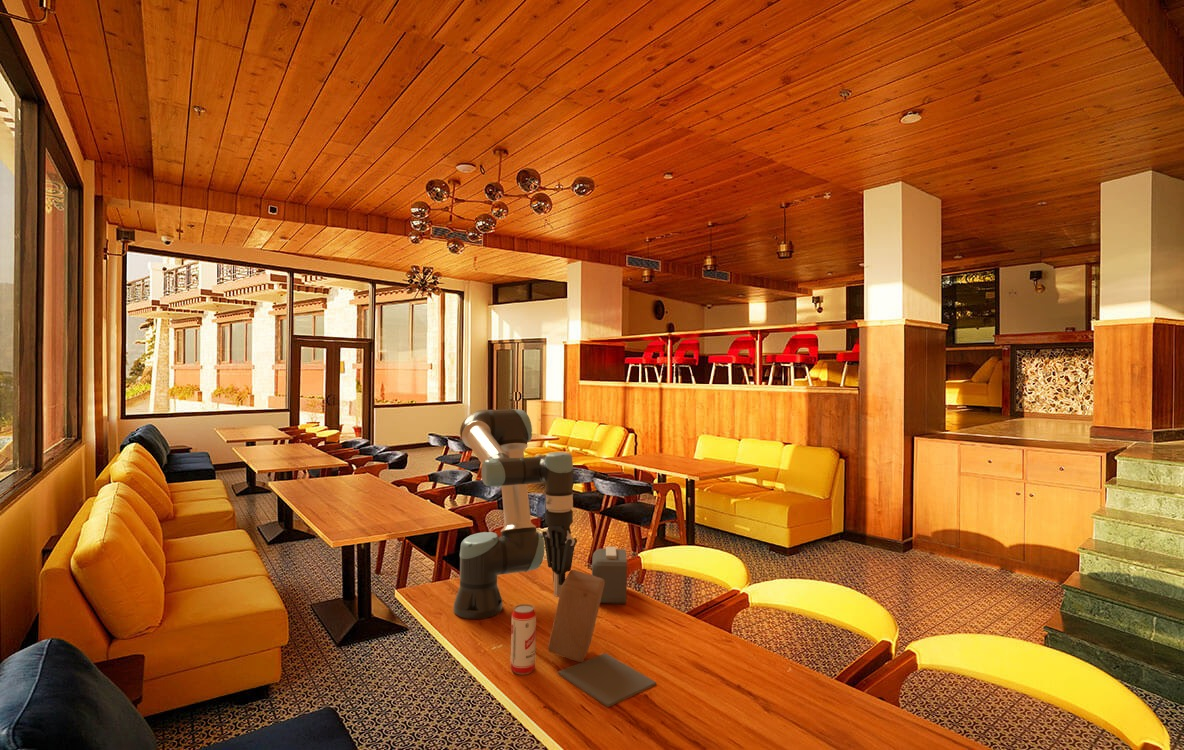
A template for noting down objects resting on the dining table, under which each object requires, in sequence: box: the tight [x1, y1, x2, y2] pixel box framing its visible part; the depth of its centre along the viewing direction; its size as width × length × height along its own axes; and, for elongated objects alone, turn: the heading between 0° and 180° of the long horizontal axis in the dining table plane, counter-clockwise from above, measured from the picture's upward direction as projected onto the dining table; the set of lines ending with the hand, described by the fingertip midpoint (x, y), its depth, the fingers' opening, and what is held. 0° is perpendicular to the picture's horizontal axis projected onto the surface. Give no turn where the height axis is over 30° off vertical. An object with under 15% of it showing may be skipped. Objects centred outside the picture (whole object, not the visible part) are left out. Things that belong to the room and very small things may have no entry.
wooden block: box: [547, 569, 605, 663], centre depth 164 cm, size 10×10×20 cm
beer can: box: [510, 603, 537, 676], centre depth 158 cm, size 6×6×16 cm
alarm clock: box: [591, 546, 628, 605], centre depth 208 cm, size 16×11×16 cm
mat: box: [557, 652, 657, 708], centre depth 154 cm, size 19×16×1 cm
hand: (559, 595), depth 169 cm, fingers closed
